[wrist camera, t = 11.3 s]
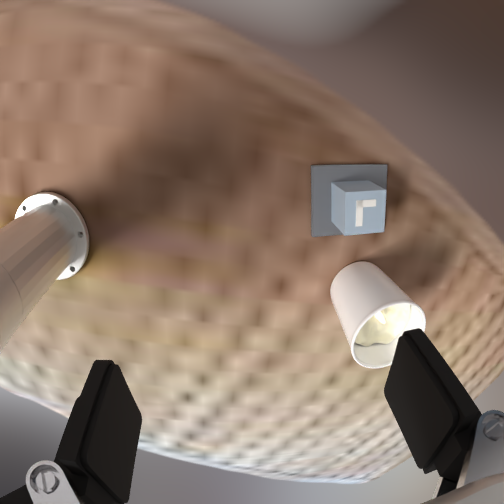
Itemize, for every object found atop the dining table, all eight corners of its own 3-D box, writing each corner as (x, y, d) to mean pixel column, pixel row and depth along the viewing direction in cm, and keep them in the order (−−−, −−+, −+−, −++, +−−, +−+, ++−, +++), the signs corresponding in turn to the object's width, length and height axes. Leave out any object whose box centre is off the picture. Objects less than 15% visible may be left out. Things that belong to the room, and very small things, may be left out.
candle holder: (384, 307, 47) (418, 357, 36) (324, 320, 47) (349, 376, 36) (388, 250, 43) (432, 294, 32) (323, 261, 43) (353, 312, 32)
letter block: (331, 182, 37) (345, 192, 33) (368, 180, 38) (386, 190, 33) (331, 222, 40) (344, 237, 35) (367, 219, 40) (384, 233, 35)
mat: (311, 235, 41) (312, 237, 40) (310, 165, 37) (312, 165, 37) (381, 229, 41) (383, 231, 41) (385, 164, 37) (387, 164, 37)
